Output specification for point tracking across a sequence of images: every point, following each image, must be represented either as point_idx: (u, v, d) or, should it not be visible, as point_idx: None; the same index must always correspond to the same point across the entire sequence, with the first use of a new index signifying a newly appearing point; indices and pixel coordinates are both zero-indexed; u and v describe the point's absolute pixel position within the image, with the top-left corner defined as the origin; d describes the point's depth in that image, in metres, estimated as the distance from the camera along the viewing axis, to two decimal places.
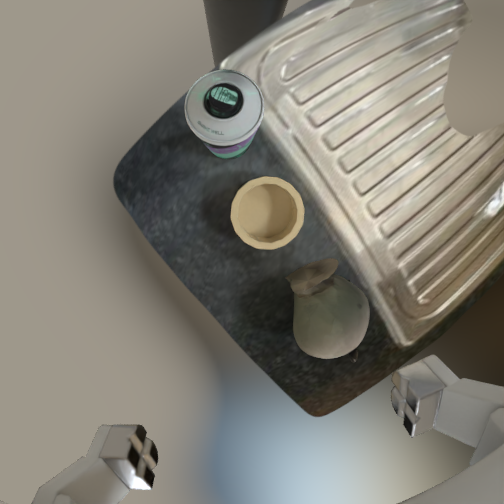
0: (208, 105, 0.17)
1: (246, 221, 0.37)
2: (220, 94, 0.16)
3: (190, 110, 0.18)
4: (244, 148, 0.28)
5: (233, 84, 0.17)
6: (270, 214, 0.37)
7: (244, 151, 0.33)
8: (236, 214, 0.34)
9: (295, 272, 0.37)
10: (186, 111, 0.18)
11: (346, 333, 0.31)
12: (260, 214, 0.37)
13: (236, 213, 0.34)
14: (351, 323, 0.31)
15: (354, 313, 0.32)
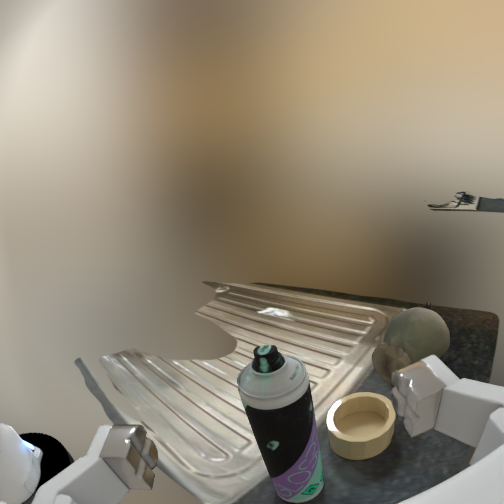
0: (274, 364, 0.21)
1: None
2: (264, 351, 0.21)
3: (281, 388, 0.20)
4: None
5: (252, 362, 0.22)
6: (362, 425, 0.31)
7: None
8: (373, 434, 0.27)
9: None
10: (282, 393, 0.19)
11: (412, 311, 0.37)
12: (366, 432, 0.30)
13: (372, 434, 0.27)
14: (404, 314, 0.37)
15: (397, 318, 0.38)
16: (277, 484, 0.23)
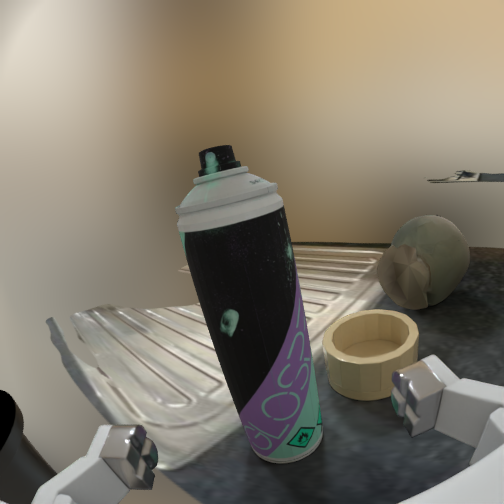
0: (227, 162, 0.14)
1: None
2: None
3: (235, 190, 0.13)
4: None
5: None
6: (373, 355, 0.25)
7: None
8: (391, 353, 0.20)
9: (416, 304, 0.28)
10: (235, 196, 0.13)
11: (421, 216, 0.31)
12: None
13: (390, 353, 0.20)
14: (412, 220, 0.31)
15: (404, 225, 0.32)
16: (248, 425, 0.17)
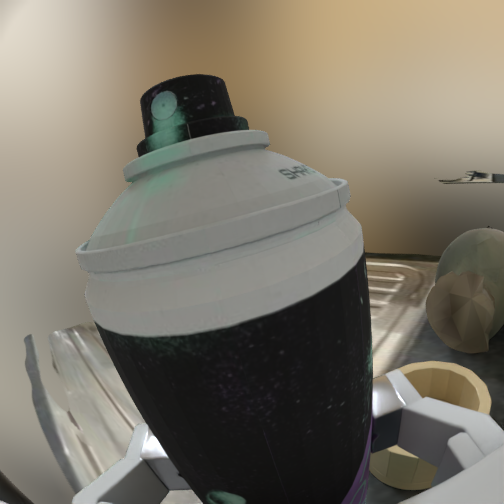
0: (209, 117, 0.05)
1: None
2: None
3: (232, 199, 0.04)
4: None
5: None
6: None
7: None
8: None
9: (473, 347, 0.18)
10: (234, 225, 0.03)
11: (478, 230, 0.21)
12: None
13: None
14: (467, 234, 0.21)
15: (457, 241, 0.22)
16: None
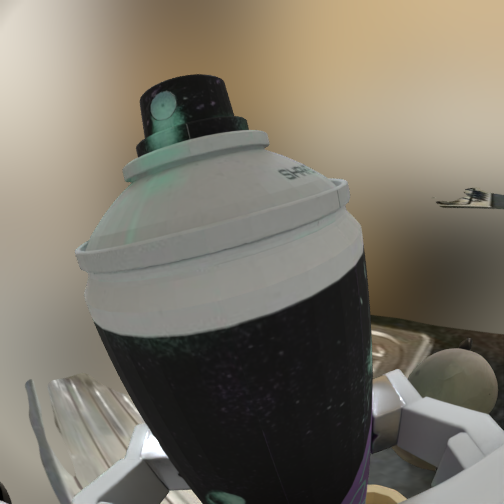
0: (209, 118, 0.05)
1: None
2: None
3: (232, 198, 0.04)
4: None
5: None
6: None
7: None
8: None
9: (422, 465, 0.18)
10: (234, 225, 0.03)
11: (450, 359, 0.21)
12: None
13: None
14: (438, 363, 0.21)
15: (427, 369, 0.22)
16: None
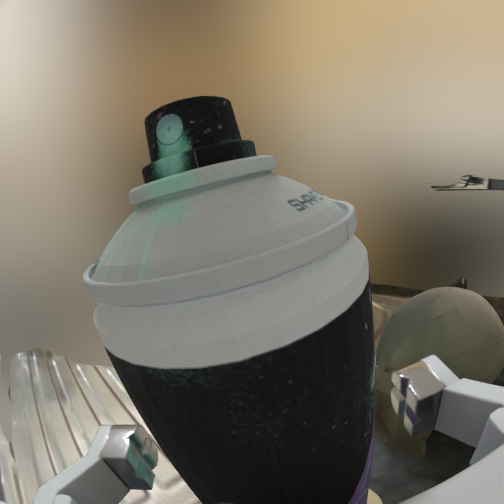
0: (216, 143, 0.05)
1: None
2: None
3: (242, 235, 0.04)
4: None
5: None
6: None
7: None
8: None
9: (406, 449, 0.14)
10: (246, 264, 0.03)
11: (437, 294, 0.17)
12: None
13: None
14: (420, 300, 0.17)
15: (406, 309, 0.18)
16: None
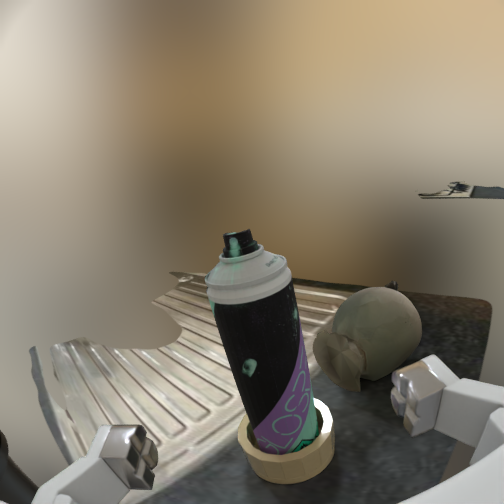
0: (247, 246, 0.18)
1: None
2: None
3: (255, 273, 0.17)
4: None
5: (223, 253, 0.20)
6: None
7: None
8: (294, 453, 0.20)
9: (349, 387, 0.27)
10: (255, 280, 0.17)
11: (368, 291, 0.30)
12: None
13: (292, 453, 0.20)
14: (357, 294, 0.31)
15: (348, 300, 0.31)
16: (261, 438, 0.21)
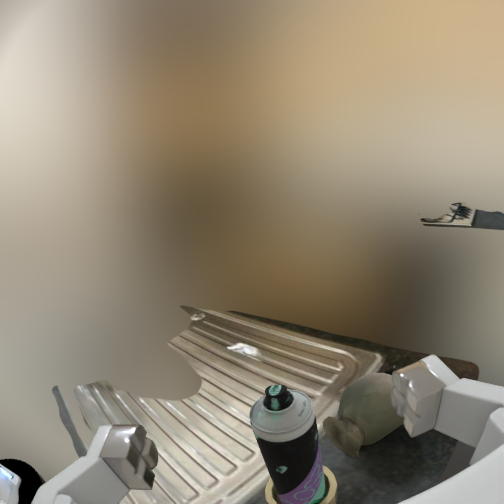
0: (284, 402, 0.22)
1: None
2: (274, 391, 0.22)
3: (290, 424, 0.21)
4: None
5: (263, 399, 0.23)
6: None
7: None
8: None
9: (351, 453, 0.31)
10: (291, 429, 0.20)
11: (371, 381, 0.33)
12: None
13: None
14: (362, 383, 0.34)
15: (354, 387, 0.34)
16: (284, 500, 0.24)
